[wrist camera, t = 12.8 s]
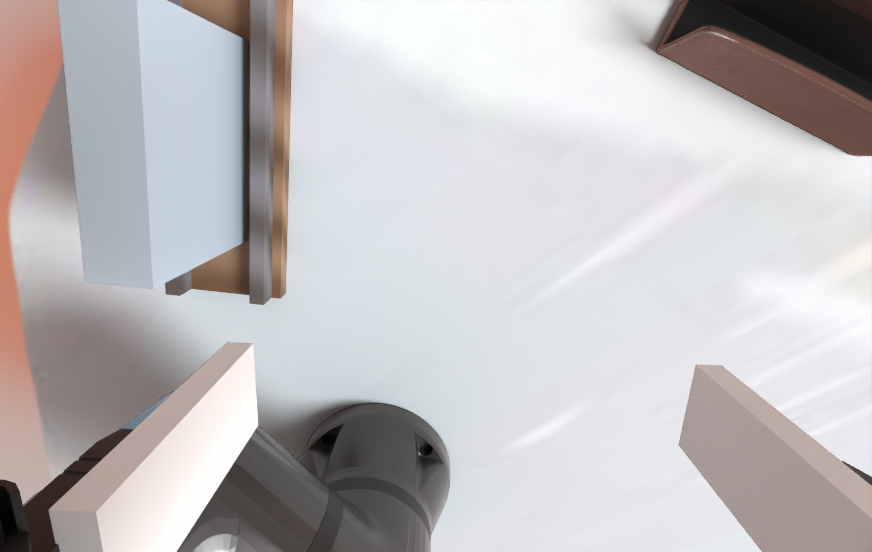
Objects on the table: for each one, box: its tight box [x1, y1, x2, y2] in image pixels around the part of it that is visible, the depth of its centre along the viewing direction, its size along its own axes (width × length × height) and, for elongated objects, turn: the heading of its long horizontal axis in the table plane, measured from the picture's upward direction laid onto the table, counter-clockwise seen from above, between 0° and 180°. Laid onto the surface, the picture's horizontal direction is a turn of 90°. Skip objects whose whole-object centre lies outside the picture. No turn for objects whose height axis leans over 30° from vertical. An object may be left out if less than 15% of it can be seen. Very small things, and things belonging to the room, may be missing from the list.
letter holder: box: [656, 0, 872, 156], centre depth 31 cm, size 10×20×14 cm, turn 66°
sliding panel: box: [57, 0, 248, 289], centre depth 32 cm, size 16×4×14 cm, turn 174°
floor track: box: [165, 0, 293, 305], centre depth 39 cm, size 26×10×4 cm, turn 174°
